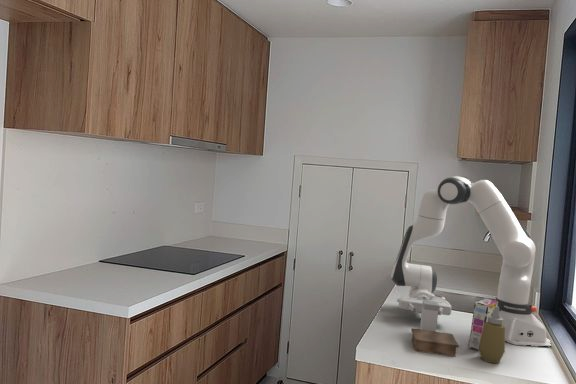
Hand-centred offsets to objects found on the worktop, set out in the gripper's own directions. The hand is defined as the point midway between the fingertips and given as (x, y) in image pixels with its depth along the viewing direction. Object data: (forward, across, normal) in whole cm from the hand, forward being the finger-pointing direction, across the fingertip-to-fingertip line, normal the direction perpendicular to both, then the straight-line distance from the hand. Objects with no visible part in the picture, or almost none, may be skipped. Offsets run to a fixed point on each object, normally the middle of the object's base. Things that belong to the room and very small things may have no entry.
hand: (426, 311), depth 200 cm
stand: (+21, 0, +7) cm, 22 cm away
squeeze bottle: (+25, +18, +7) cm, 31 cm away
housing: (+7, 0, +7) cm, 10 cm away
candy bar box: (+12, +18, +7) cm, 23 cm away
